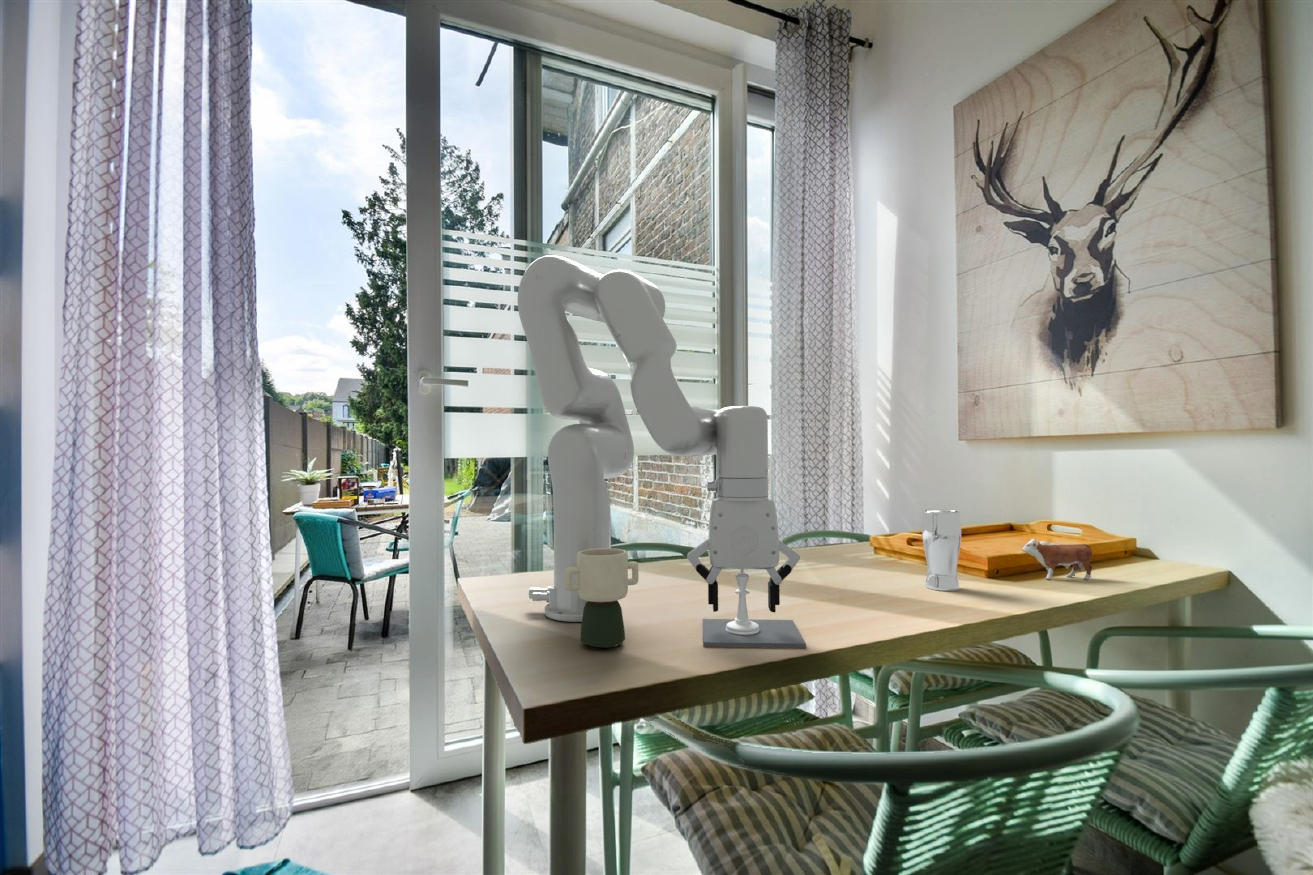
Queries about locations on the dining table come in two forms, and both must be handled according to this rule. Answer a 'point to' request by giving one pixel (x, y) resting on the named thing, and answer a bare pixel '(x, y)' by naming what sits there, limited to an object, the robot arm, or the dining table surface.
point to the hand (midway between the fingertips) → (743, 608)
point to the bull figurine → (1061, 556)
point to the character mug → (602, 593)
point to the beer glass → (941, 548)
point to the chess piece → (742, 610)
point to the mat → (768, 636)
